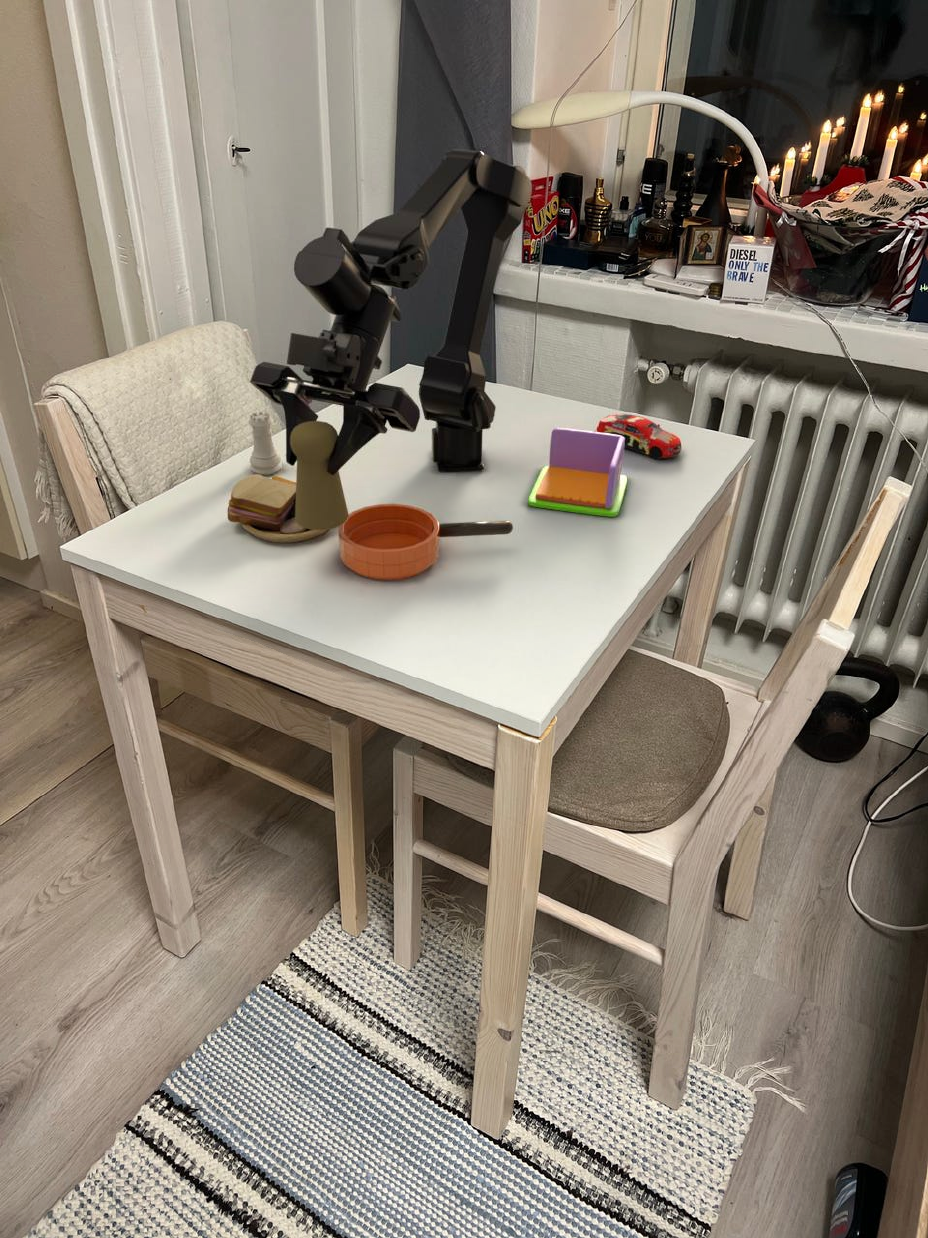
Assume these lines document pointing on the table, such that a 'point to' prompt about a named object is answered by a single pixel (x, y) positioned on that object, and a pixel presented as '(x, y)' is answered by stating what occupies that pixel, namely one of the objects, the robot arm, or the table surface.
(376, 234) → the robot arm
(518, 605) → the table surface
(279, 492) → the toy sandwich meal
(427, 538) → the pan
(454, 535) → the pan handle
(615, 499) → the toy room diorama
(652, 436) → the race car
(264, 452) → the rook chess piece
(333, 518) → the cork
